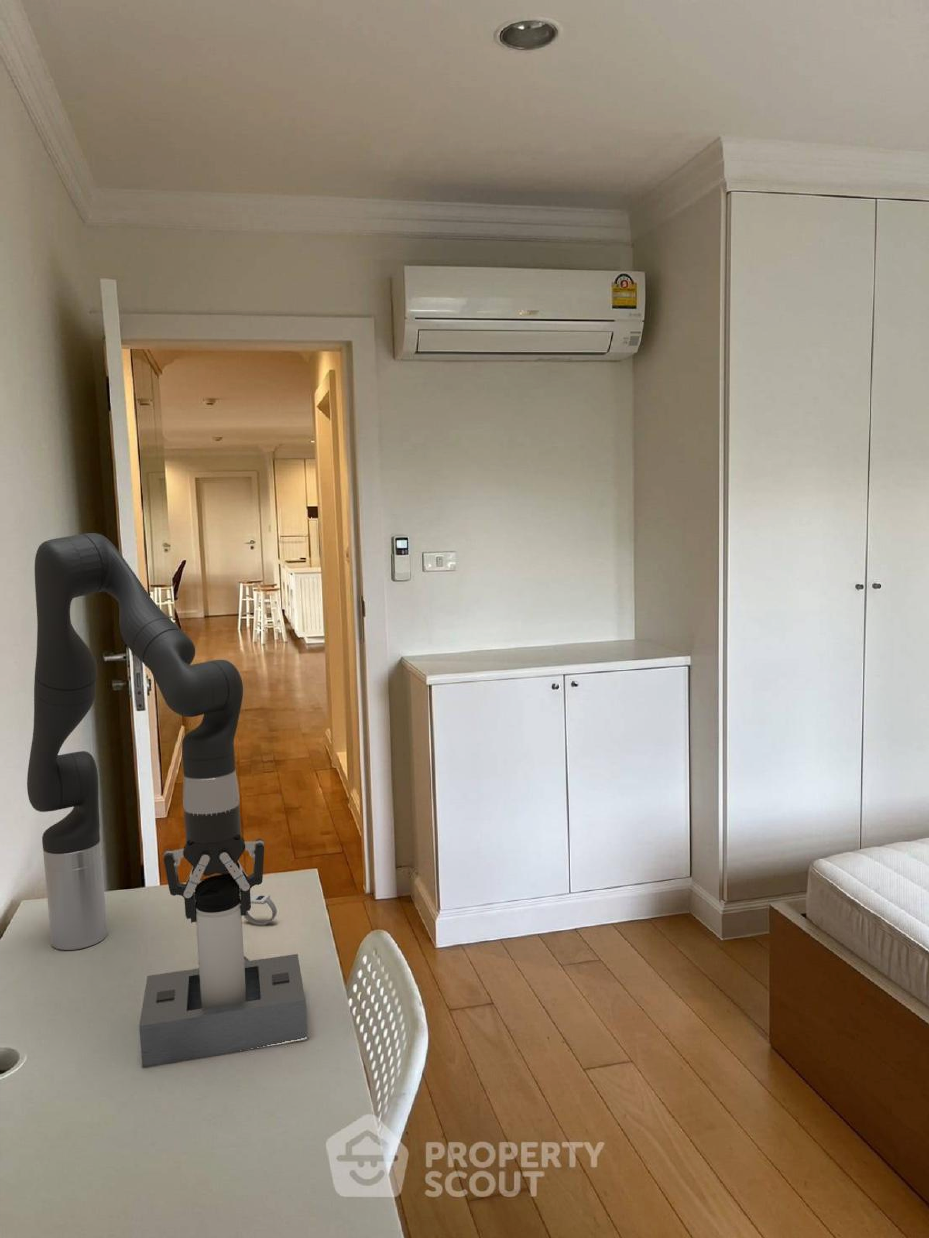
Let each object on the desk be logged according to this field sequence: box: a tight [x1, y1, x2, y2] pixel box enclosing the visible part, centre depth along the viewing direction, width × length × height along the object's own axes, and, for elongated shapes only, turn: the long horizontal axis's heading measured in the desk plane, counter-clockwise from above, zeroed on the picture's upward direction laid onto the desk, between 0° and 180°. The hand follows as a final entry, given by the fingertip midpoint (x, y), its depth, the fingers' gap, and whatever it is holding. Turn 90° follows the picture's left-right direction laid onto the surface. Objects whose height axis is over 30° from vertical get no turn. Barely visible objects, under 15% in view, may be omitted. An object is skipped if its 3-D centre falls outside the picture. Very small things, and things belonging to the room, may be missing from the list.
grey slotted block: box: [138, 953, 308, 1069], centre depth 133 cm, size 14×22×6 cm, turn 104°
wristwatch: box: [243, 893, 277, 926], centre depth 167 cm, size 6×3×5 cm, turn 77°
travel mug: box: [194, 872, 246, 1009], centre depth 132 cm, size 6×7×20 cm
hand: (218, 916), depth 132 cm, fingers closed on travel mug, 6 cm apart
